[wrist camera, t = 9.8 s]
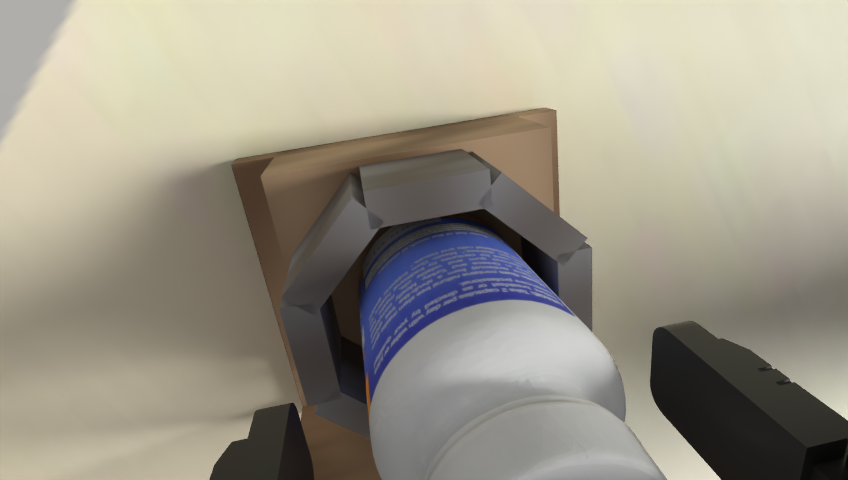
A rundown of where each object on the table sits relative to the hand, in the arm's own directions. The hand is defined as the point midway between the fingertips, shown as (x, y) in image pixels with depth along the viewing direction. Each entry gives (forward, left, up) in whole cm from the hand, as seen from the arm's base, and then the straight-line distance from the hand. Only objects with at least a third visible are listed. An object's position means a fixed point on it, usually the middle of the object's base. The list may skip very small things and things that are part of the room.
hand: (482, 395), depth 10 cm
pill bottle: (0, 0, -6) cm, 6 cm away
